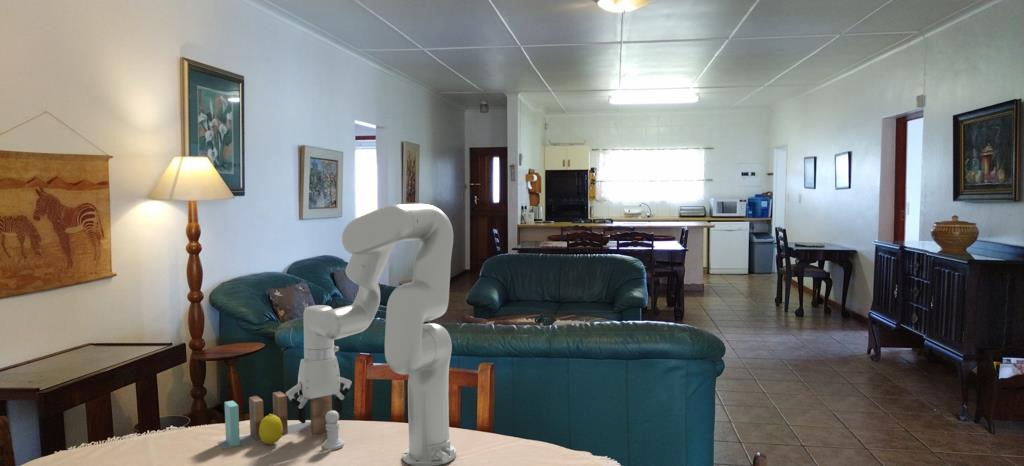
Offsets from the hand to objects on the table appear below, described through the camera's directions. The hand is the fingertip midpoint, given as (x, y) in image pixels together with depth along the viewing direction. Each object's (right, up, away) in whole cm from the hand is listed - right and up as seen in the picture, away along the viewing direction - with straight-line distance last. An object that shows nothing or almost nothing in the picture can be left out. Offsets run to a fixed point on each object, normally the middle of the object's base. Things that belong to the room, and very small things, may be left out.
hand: (320, 417), depth 168 cm
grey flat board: (-11, -4, +1) cm, 12 cm away
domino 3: (0, -4, 0) cm, 4 cm away
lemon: (-10, -5, -7) cm, 13 cm away
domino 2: (-11, -4, +1) cm, 12 cm away
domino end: (-20, -5, -6) cm, 22 cm away
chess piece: (+6, -5, -8) cm, 11 cm away
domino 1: (-15, -4, -2) cm, 16 cm away
